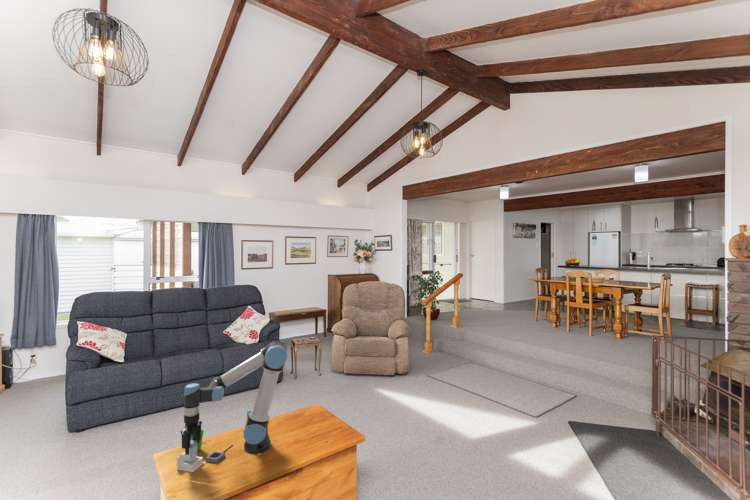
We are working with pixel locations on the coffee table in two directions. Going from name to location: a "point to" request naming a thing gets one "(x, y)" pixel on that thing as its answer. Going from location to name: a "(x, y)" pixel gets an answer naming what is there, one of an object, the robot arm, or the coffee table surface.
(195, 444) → the plug
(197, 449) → the cup
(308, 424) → the coffee table surface
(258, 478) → the coffee table surface
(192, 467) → the tray
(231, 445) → the cord
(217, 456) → the grey square socket
